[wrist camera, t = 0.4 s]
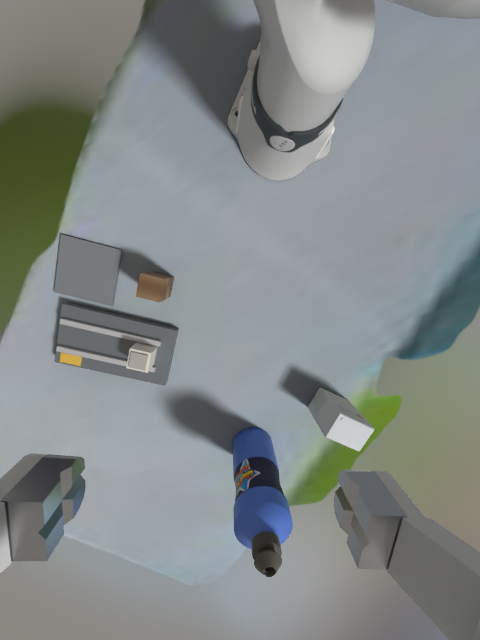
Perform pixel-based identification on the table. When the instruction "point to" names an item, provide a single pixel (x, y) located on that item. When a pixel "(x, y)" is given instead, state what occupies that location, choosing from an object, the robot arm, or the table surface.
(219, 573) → the table surface
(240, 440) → the water bottle
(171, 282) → the wooden block
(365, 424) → the small box
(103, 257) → the mat
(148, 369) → the switch tab
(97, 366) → the switch panel
